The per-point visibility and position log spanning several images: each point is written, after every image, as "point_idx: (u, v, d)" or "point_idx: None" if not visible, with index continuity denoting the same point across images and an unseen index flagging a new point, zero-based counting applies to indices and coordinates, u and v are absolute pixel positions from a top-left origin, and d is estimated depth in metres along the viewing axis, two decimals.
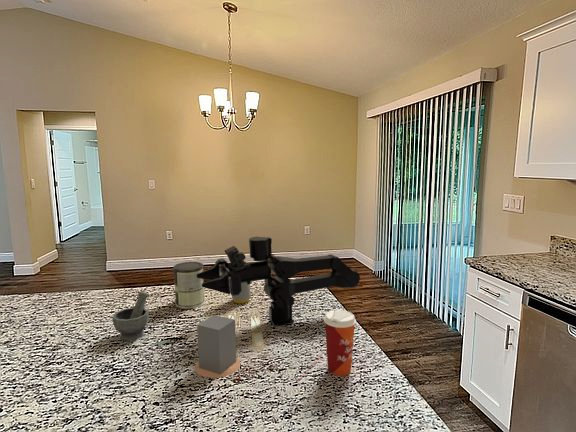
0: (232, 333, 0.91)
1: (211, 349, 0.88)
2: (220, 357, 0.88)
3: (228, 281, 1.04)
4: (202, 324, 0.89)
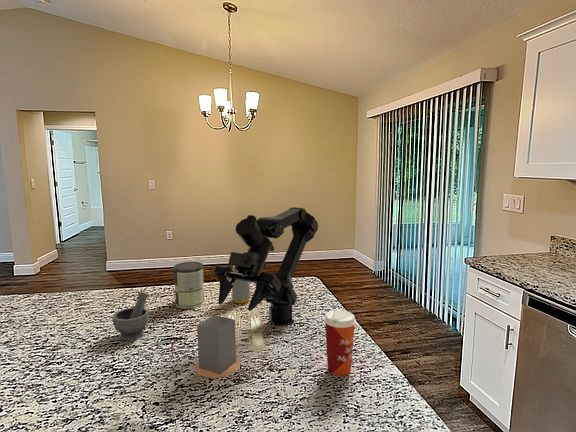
0: (232, 333, 0.91)
1: (211, 349, 0.88)
2: (220, 357, 0.88)
3: (268, 286, 0.96)
4: (202, 324, 0.89)
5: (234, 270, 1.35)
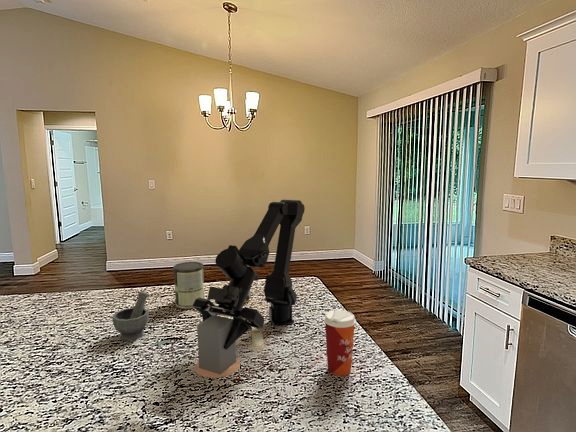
0: None
1: (211, 349, 0.88)
2: (220, 357, 0.88)
3: (246, 323, 0.90)
4: (202, 324, 0.89)
5: None
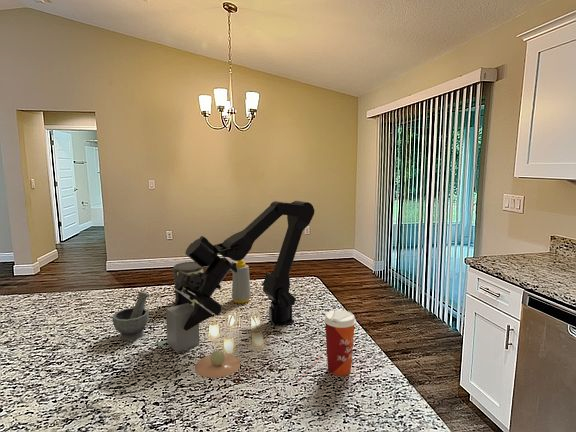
0: None
1: (172, 332, 1.00)
2: (177, 340, 0.98)
3: (204, 309, 0.97)
4: (169, 308, 1.02)
5: None
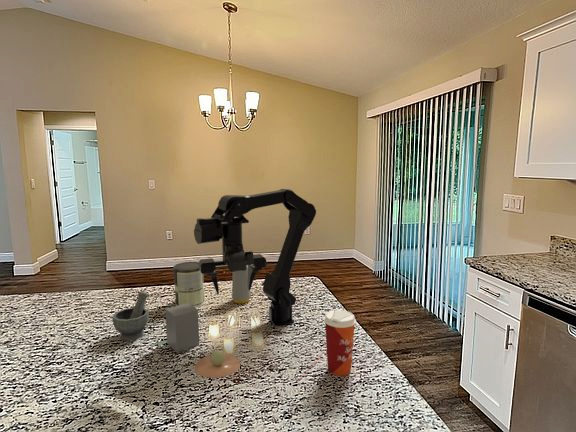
0: (194, 321, 1.01)
1: (172, 332, 1.00)
2: (177, 341, 0.98)
3: None
4: (169, 309, 1.01)
5: None
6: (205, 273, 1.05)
